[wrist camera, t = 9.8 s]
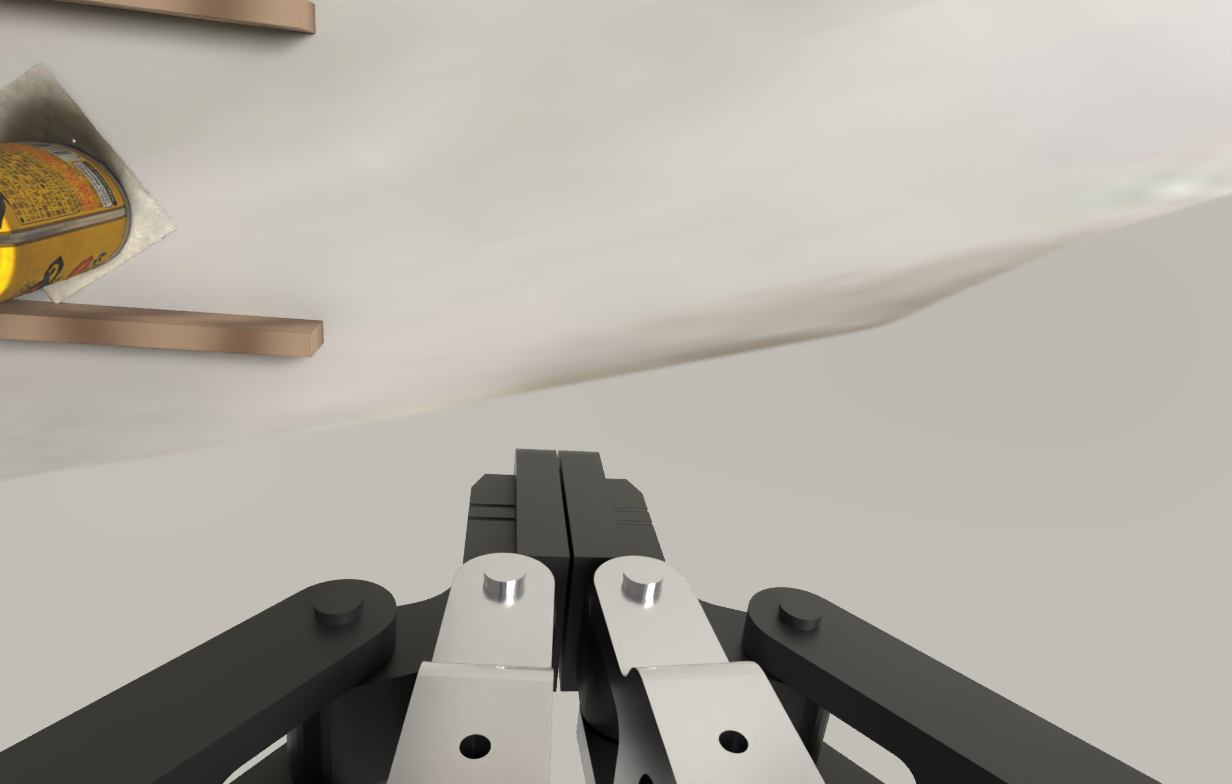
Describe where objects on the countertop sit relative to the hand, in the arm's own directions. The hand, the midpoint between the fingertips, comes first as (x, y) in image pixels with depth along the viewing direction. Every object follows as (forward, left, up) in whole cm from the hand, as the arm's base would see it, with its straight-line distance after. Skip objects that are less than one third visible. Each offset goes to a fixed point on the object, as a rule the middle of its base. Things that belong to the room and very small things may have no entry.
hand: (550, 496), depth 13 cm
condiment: (-12, -19, -27) cm, 35 cm away
